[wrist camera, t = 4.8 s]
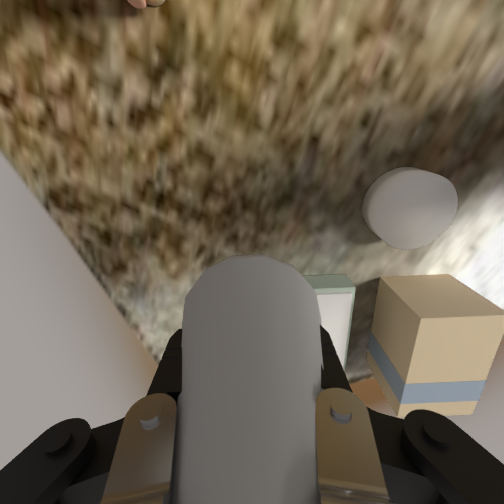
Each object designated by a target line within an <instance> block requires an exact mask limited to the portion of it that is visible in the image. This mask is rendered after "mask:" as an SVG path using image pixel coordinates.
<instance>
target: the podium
mask: <svg viewBox="0 0 504 504" xmlns="http://www.w3.org/2000/svg"><path fill="white" fill-rule="evenodd" d="M303 277H304V279H305V280H306V281H307V282H308V283H309V284H310V285H311V286H312V288H313V289H314V290H315V292H316V295H317V300H318V305H319V310H320V315H321V322H322V327H323V328H324V329H325V330H326V331H327V332H328V333H329V334H330V337H331V339H332V342H333V346H334V347H335V350H336V352H337V355H338V357H339V360H340V362H341V365H342V367H343V370H344V372H345V367H346V360H347V352H348V344H349V336H350V329H351V321H352V313H353V306H354V298H355V290H356V287H355V285H354V284H353V283H352V281H351V280H350V279H349V277H348V276H347V275H346V274H337V275H313V276H303Z"/></svg>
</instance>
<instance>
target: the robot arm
mask: <svg viewBox="0 0 504 504" xmlns="http://www.w3.org/2000/svg"><path fill="white" fill-rule="evenodd" d="M182 330H183V329H178V330H177V331H176V332H175V333H174V334H173V335H172V337H171V338H170V339H169V342H168V344H167V346H166V350H165V351H164V354H163V356H162V360H161V361H160V364H159V366H158V368H157V371H156V373H155V376H154V378H153V381H152V383H151V386H150V388H149V390H148V393H147V395H146V396H145V397H144V398H142V399H140V400H139V401H137V402H136V403H135V404H134V405H133V406H132V407H131V408H130V409H129V411H128V412H127V414H126V416H125V417H124V418H122V419H120V420H117V421H115V422H112V423H109V424H106V425H102V426H100V427H97V428H93V429H91V428H90V425H89V424H88V422H87V421H85V420H84V419H80V418H72V419H67V420H64V421H62V422H59V423H57V424H55V425H54V426H52V427H50V428H49V429H47V430H46V431H45V432H44V433H43V434H41V435H40V436H39V437H38V438H37V439H36V440H34V441H33V442H32V443H31V444H30V445H29V446H28V447H26V448H25V449H24V450H23V451H22V452H21V453H20V454H19V455H17V456H16V457H15V458H14V459H13V460H12V461H11V462H9V463H8V464H7V465H6V466H5V467H4V468H3V469H2V470H0V504H172V501H173V486H174V472H175V457H176V442H177V427H178V411H177V402H178V396H179V395H180V393H181V392H182V348H181V344H182ZM320 336H321V348H322V358H323V367H322V364H321V388H322V389H324V391H322V392H321V393H320V394H319V395H318V396H317V398H316V406H315V422H316V446H317V471H318V496H319V504H504V464H502V463H501V462H500V461H499V460H498V459H496V458H495V457H494V456H493V455H492V454H490V453H489V452H488V451H487V450H486V449H484V448H483V447H482V446H481V445H480V444H478V443H477V442H476V441H475V440H474V439H472V438H471V437H470V436H469V435H468V434H467V433H465V432H464V431H463V430H462V429H461V428H459V427H458V426H457V425H456V424H454V423H453V422H452V421H451V420H449V419H448V418H446V417H445V416H443V415H441V414H439V413H436V412H434V411H430V410H425V409H417V410H413V411H410V412H409V413H408V414H407V415H406V416H405V419H400V418H396V417H392V416H388V415H385V414H381V413H378V412H376V411H374V410H371V409H370V408H368V407H366V406H365V404H364V403H363V401H362V400H361V399H360V398H359V397H358V396H356V395H355V394H353V392H352V390H351V388H350V385H349V383H348V380H347V377H346V375H345V372H344V370H343V367H342V365H341V362H340V360H339V357H338V355H337V352H336V350H335V347H334V346H333V342H332V339H331V337H330V334H329V333H328V332H327V331H326V330H325V329H324V328H323V327H322V326H321V325H320ZM323 368H324V370H323Z"/></svg>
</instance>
